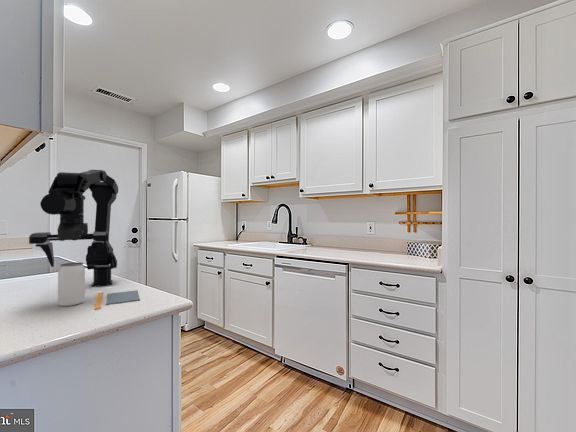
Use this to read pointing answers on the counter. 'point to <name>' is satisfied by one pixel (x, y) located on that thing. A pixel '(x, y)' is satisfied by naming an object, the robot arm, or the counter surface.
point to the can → (71, 284)
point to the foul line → (98, 301)
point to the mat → (122, 297)
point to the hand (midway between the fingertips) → (72, 265)
